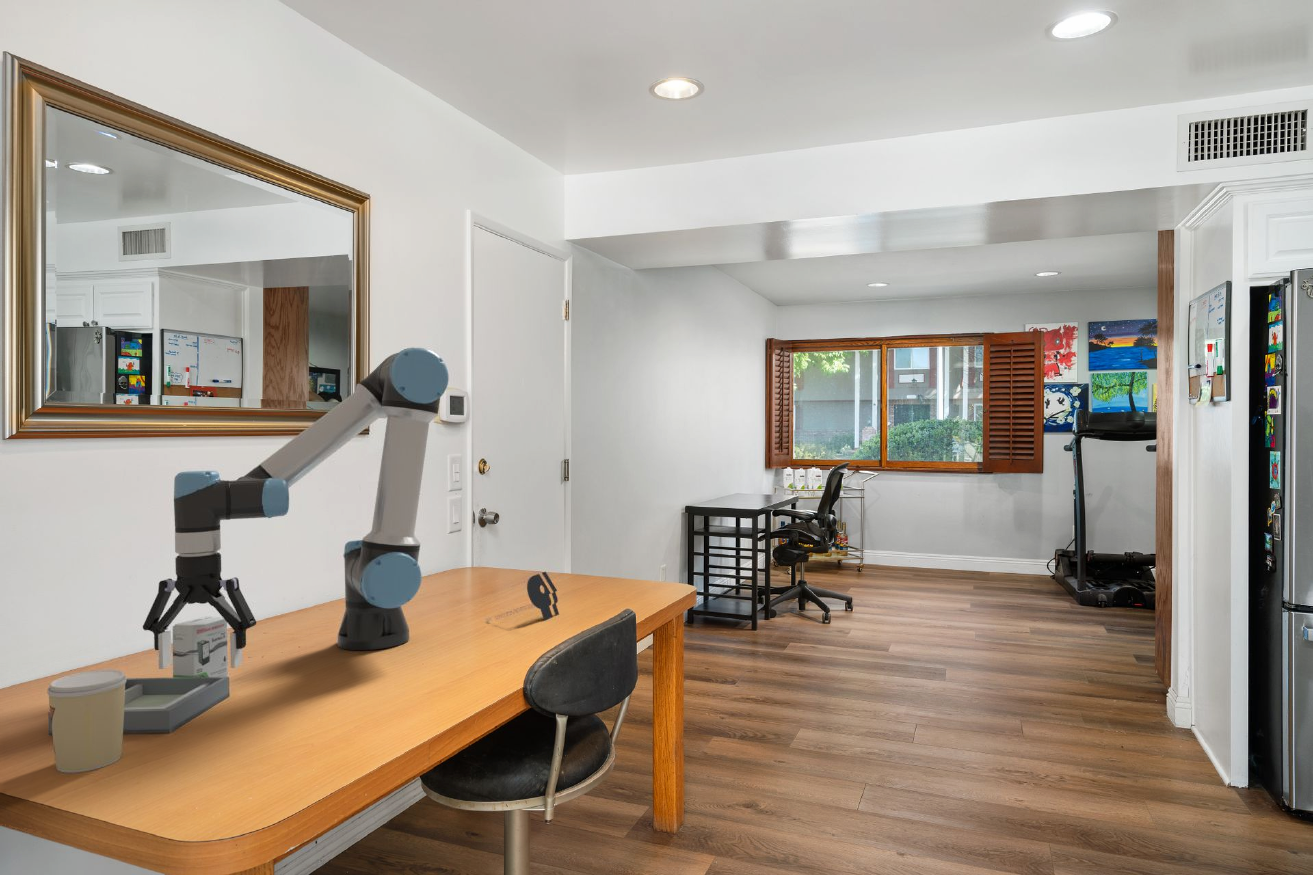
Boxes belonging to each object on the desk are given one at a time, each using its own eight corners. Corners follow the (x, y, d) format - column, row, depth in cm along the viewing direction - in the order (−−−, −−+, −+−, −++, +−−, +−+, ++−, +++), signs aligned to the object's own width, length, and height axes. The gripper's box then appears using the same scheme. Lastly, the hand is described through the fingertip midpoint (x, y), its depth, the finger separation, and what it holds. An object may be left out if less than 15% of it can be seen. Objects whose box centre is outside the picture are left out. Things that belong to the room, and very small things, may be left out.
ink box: (193, 691, 151) (192, 626, 151) (171, 689, 152) (170, 625, 152) (229, 677, 159) (228, 616, 159) (208, 676, 161) (207, 615, 160)
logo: (588, 604, 208) (573, 561, 209) (540, 624, 193) (525, 577, 194) (540, 619, 217) (527, 578, 218) (492, 639, 202) (477, 595, 203)
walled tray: (229, 696, 148) (229, 676, 148) (169, 732, 130) (169, 710, 130) (123, 697, 148) (122, 678, 148) (48, 734, 130) (48, 712, 130)
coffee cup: (75, 750, 123) (73, 670, 123) (141, 747, 124) (139, 667, 124) (33, 777, 114) (31, 689, 114) (105, 773, 114) (103, 686, 114)
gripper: (273, 549, 159) (276, 659, 159) (144, 551, 159) (147, 661, 160) (254, 555, 152) (257, 671, 152) (119, 557, 152) (122, 673, 152)
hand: (200, 666), depth 156 cm, fingers open, 13 cm apart
